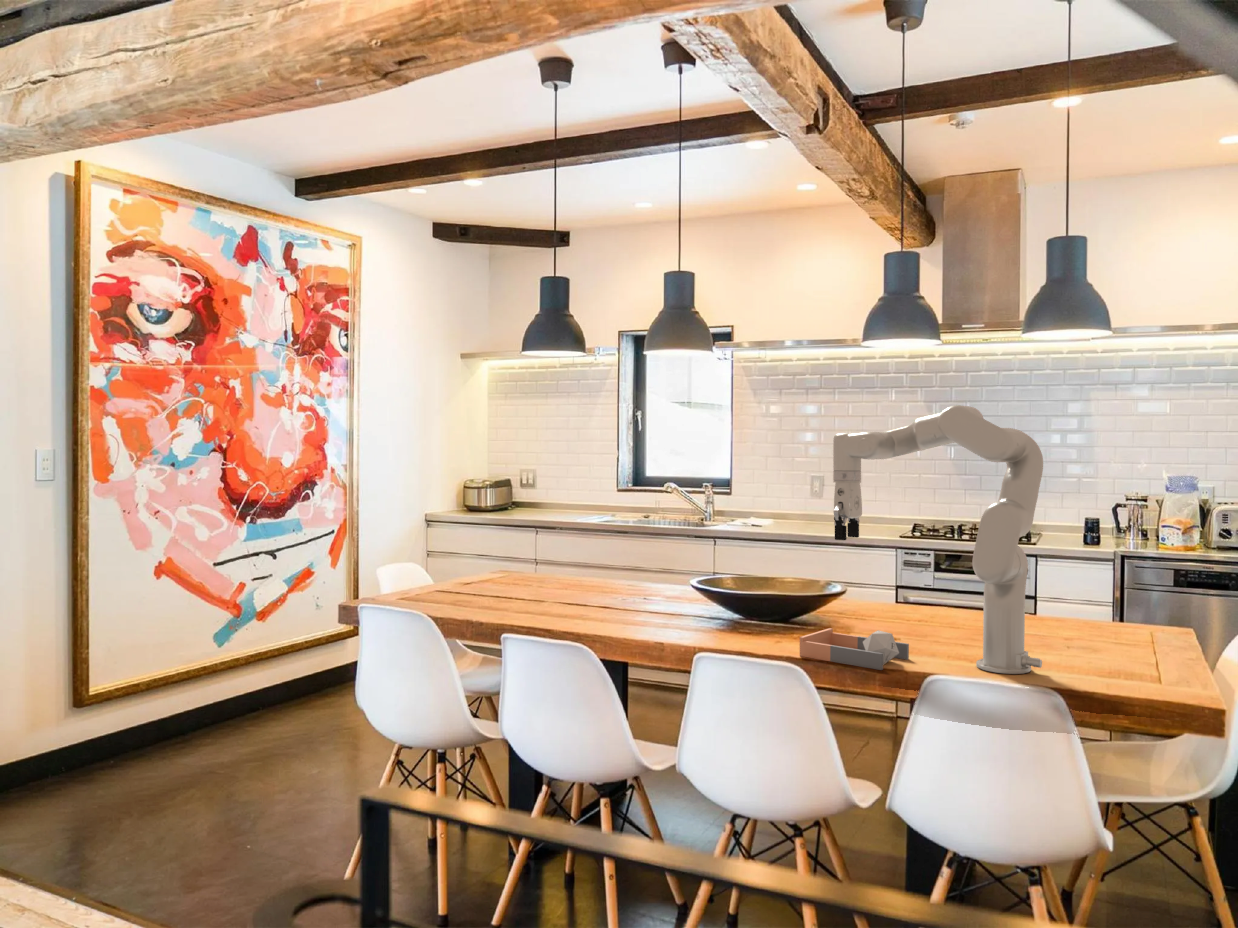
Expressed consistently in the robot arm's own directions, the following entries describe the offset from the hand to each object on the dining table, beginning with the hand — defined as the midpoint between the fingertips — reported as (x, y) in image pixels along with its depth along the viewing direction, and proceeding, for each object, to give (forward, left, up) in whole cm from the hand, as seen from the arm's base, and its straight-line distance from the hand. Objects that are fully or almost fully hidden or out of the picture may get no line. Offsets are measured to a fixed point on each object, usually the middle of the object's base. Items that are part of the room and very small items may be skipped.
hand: (847, 538), depth 253 cm
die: (-16, +13, -30) cm, 36 cm away
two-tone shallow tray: (-9, +13, -30) cm, 34 cm away
